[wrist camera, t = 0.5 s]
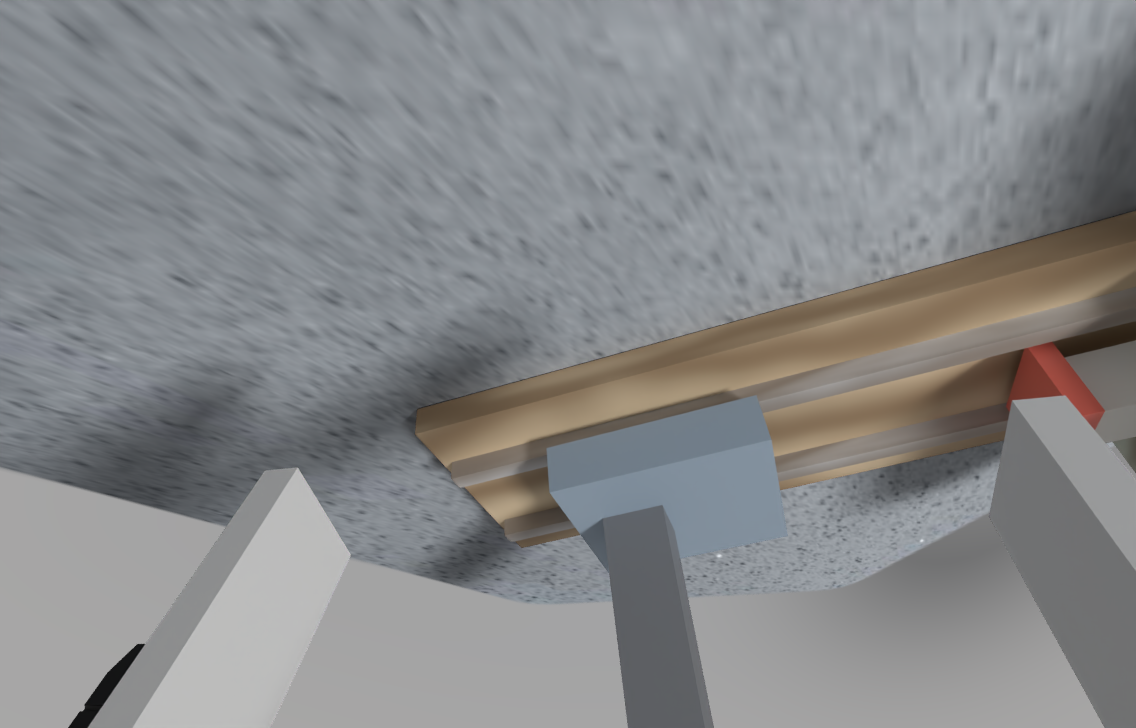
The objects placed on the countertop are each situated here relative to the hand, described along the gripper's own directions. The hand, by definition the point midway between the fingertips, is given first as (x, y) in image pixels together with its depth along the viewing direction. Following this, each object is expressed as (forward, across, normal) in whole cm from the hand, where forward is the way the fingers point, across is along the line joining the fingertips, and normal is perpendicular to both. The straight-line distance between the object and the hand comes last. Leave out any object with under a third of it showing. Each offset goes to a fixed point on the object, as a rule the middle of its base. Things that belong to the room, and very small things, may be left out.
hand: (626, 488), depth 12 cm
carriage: (+16, -1, -15) cm, 22 cm away
